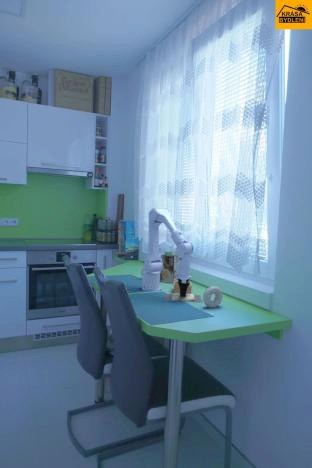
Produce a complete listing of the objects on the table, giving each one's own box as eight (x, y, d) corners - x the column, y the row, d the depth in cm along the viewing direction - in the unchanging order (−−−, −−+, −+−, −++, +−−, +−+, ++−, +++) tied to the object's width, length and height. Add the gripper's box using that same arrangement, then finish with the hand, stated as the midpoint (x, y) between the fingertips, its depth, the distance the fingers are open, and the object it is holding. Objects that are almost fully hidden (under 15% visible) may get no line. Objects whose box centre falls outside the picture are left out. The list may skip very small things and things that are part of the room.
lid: (171, 300, 161) (171, 290, 160) (171, 294, 172) (172, 285, 171) (194, 301, 160) (195, 291, 160) (193, 295, 171) (193, 286, 171)
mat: (163, 301, 160) (164, 300, 160) (164, 294, 173) (164, 293, 173) (202, 303, 159) (202, 302, 159) (200, 296, 172) (200, 295, 172)
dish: (173, 294, 175) (174, 284, 174) (173, 290, 184) (174, 281, 183) (191, 295, 174) (191, 285, 174) (190, 291, 183) (190, 281, 183)
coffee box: (176, 281, 207) (177, 255, 205) (173, 283, 201) (174, 256, 199) (162, 279, 210) (163, 254, 209) (159, 281, 204) (160, 255, 203)
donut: (205, 310, 149) (206, 287, 148) (200, 308, 152) (201, 286, 151) (223, 308, 153) (224, 286, 152) (218, 305, 156) (219, 284, 156)
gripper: (193, 270, 157) (191, 298, 158) (191, 265, 172) (190, 291, 173) (177, 269, 158) (176, 298, 159) (177, 264, 172) (176, 290, 173)
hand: (182, 294), depth 166 cm, fingers open, 6 cm apart
